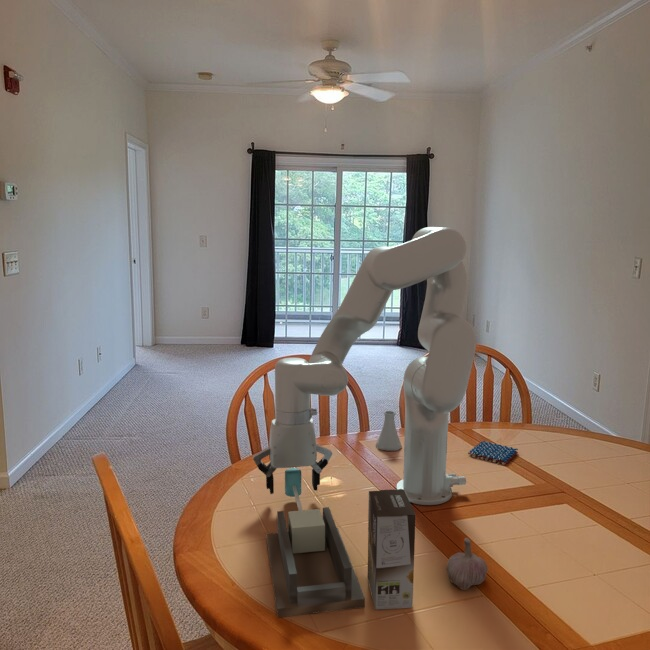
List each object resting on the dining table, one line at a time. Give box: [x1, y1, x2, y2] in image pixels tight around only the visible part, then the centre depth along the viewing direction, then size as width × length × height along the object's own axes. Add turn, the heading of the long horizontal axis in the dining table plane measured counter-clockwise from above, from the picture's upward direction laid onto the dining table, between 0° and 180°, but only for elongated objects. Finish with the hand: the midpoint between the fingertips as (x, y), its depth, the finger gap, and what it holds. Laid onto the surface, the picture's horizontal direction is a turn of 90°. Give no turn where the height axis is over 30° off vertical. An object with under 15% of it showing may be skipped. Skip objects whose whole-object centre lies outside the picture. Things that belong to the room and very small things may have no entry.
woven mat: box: [467, 440, 519, 466], centre depth 151 cm, size 10×11×2 cm
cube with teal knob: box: [284, 467, 325, 554], centre depth 114 cm, size 6×25×5 cm, turn 10°
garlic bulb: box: [446, 537, 488, 591], centre depth 96 cm, size 8×7×8 cm
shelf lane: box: [266, 506, 366, 618], centre depth 99 cm, size 14×22×6 cm, turn 10°
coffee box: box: [366, 488, 417, 610], centre depth 93 cm, size 9×6×16 cm
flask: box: [375, 410, 403, 452], centre depth 155 cm, size 7×7×10 cm
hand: (293, 489), depth 124 cm, fingers open, 9 cm apart
